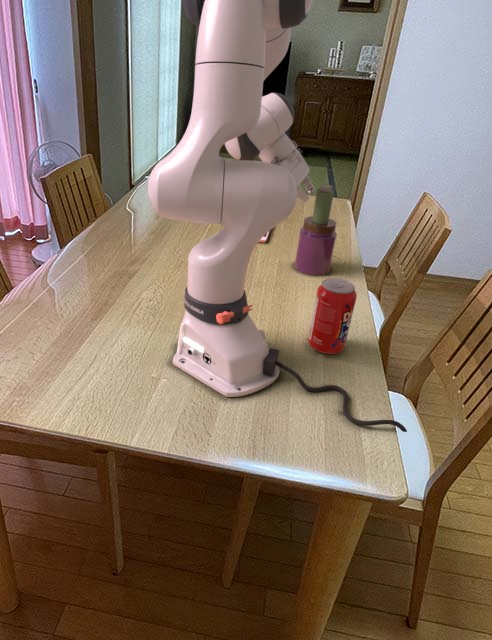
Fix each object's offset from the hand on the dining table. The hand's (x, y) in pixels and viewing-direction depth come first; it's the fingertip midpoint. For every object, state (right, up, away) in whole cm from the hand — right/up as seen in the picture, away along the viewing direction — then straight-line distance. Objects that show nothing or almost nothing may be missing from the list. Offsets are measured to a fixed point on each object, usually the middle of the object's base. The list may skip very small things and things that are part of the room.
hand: (309, 196), depth 131 cm
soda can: (-2, -39, -25) cm, 47 cm away
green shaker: (+3, -6, +2) cm, 8 cm away
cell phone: (-11, -4, +32) cm, 34 cm away
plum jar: (+3, -18, +10) cm, 21 cm away
